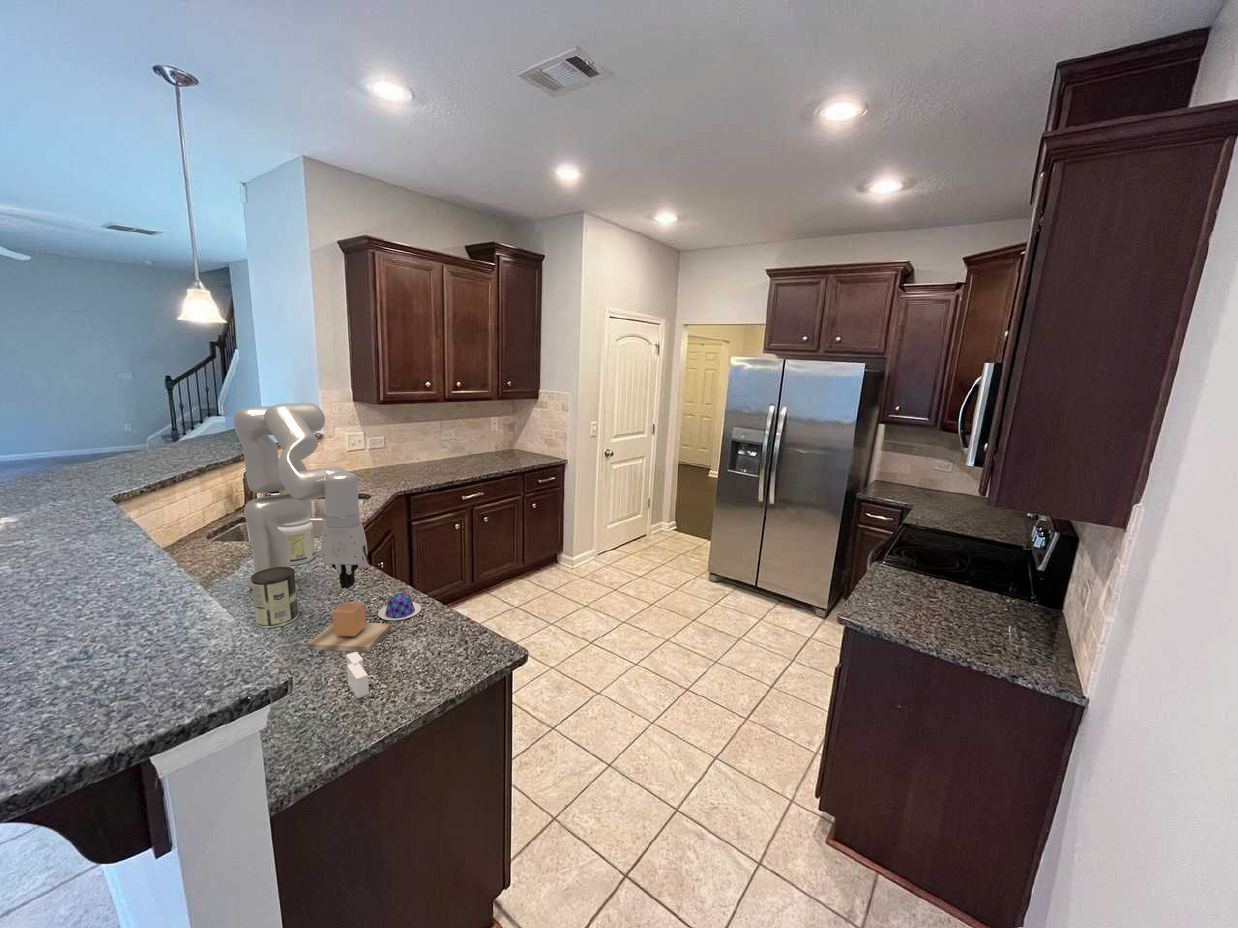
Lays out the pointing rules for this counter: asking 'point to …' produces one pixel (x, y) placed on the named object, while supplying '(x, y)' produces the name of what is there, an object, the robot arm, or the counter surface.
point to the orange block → (349, 619)
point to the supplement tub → (299, 540)
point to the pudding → (399, 607)
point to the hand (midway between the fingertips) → (347, 586)
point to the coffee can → (274, 597)
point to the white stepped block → (357, 675)
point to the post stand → (350, 639)
